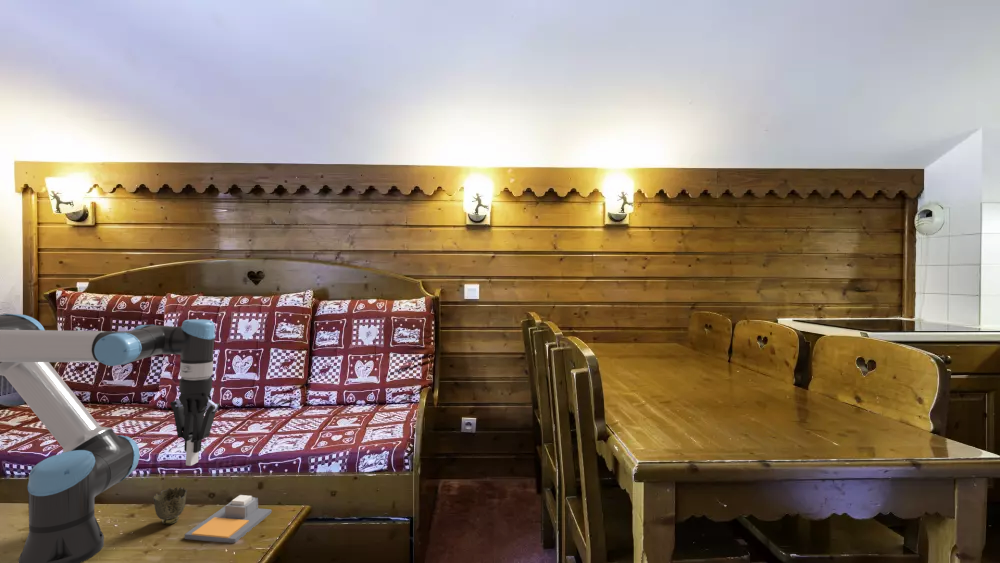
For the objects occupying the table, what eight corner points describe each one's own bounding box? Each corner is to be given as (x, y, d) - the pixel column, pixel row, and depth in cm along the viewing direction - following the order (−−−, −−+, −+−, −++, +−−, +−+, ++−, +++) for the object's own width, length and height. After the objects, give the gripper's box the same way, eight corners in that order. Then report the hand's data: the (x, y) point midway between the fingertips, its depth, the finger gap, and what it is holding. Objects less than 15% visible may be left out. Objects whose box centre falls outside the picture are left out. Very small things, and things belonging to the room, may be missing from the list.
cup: (169, 531, 125) (169, 500, 125) (146, 527, 127) (146, 497, 127) (193, 517, 133) (193, 488, 132) (170, 514, 134) (170, 485, 134)
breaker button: (231, 512, 132) (231, 500, 132) (239, 506, 135) (240, 494, 135) (243, 513, 131) (243, 501, 131) (251, 507, 135) (251, 495, 134)
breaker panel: (184, 538, 122) (184, 522, 122) (225, 509, 137) (225, 495, 137) (235, 543, 120) (235, 526, 120) (271, 513, 135) (271, 498, 135)
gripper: (163, 377, 127) (158, 466, 128) (208, 382, 126) (204, 471, 126) (184, 372, 135) (180, 456, 135) (228, 376, 133) (223, 460, 133)
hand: (192, 463), depth 130 cm, fingers closed
